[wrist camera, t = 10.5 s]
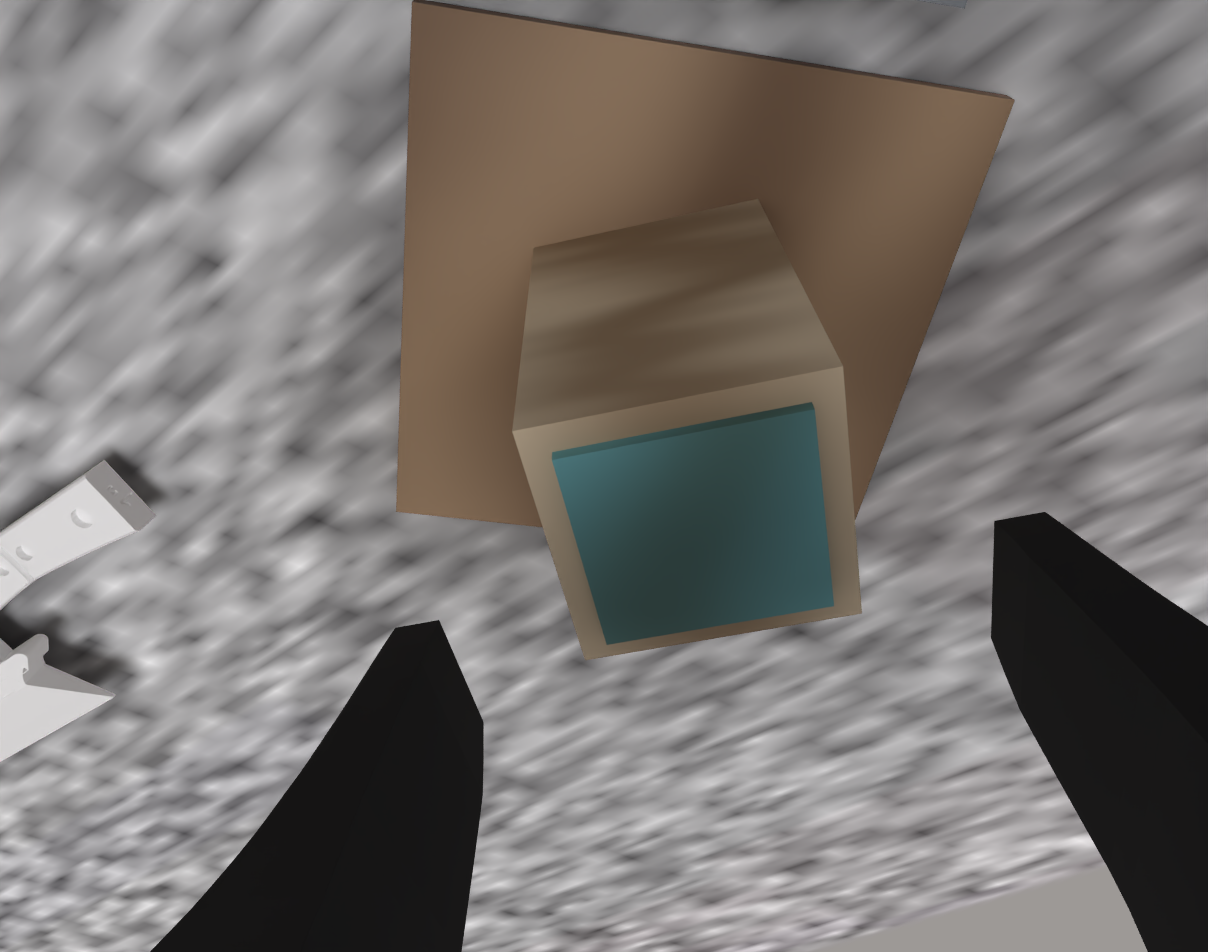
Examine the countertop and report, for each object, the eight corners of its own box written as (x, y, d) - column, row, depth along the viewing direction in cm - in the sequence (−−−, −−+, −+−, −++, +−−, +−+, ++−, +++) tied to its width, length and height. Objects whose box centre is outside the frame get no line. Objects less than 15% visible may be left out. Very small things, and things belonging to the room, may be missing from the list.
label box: (757, 198, 18) (846, 373, 12) (781, 396, 20) (864, 622, 14) (533, 247, 18) (511, 438, 12) (583, 434, 21) (585, 668, 15)
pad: (1006, 95, 17) (1014, 99, 17) (836, 548, 23) (840, 559, 23) (415, -2, 16) (411, 2, 16) (398, 502, 22) (395, 511, 22)
